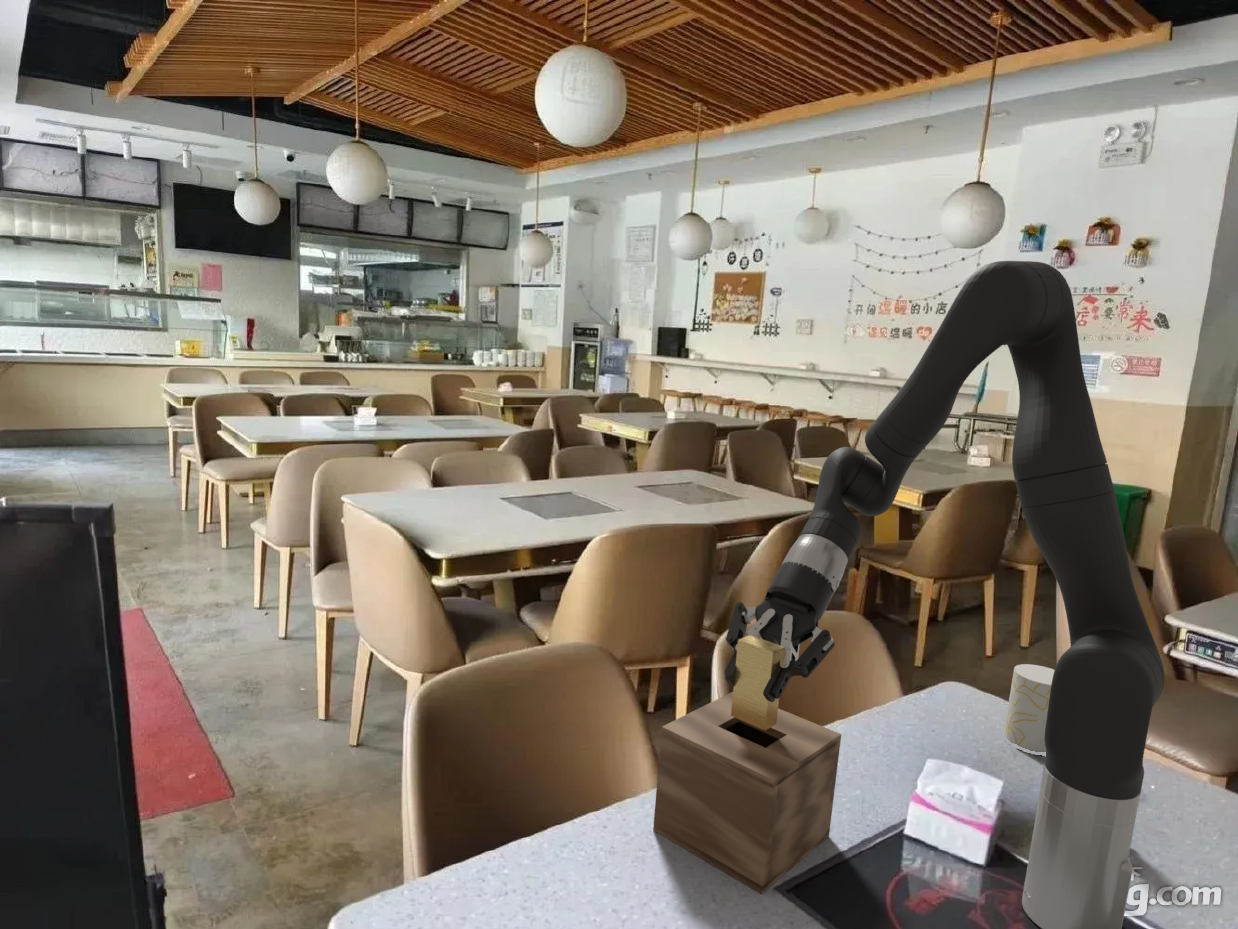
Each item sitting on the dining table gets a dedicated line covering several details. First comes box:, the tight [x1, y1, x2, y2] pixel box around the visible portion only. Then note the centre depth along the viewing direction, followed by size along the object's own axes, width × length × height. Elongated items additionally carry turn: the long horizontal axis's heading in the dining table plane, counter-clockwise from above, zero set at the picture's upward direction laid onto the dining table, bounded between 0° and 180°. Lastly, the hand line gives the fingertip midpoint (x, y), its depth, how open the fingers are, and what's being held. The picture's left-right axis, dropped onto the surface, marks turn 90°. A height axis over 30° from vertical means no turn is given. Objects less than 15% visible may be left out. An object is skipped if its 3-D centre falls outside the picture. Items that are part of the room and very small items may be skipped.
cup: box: [1003, 663, 1055, 752], centre depth 132 cm, size 8×8×12 cm
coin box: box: [652, 691, 842, 895], centre depth 102 cm, size 16×16×14 cm
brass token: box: [731, 635, 785, 730], centre depth 100 cm, size 3×5×10 cm, turn 48°
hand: (748, 690), depth 99 cm, fingers closed on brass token, 5 cm apart
